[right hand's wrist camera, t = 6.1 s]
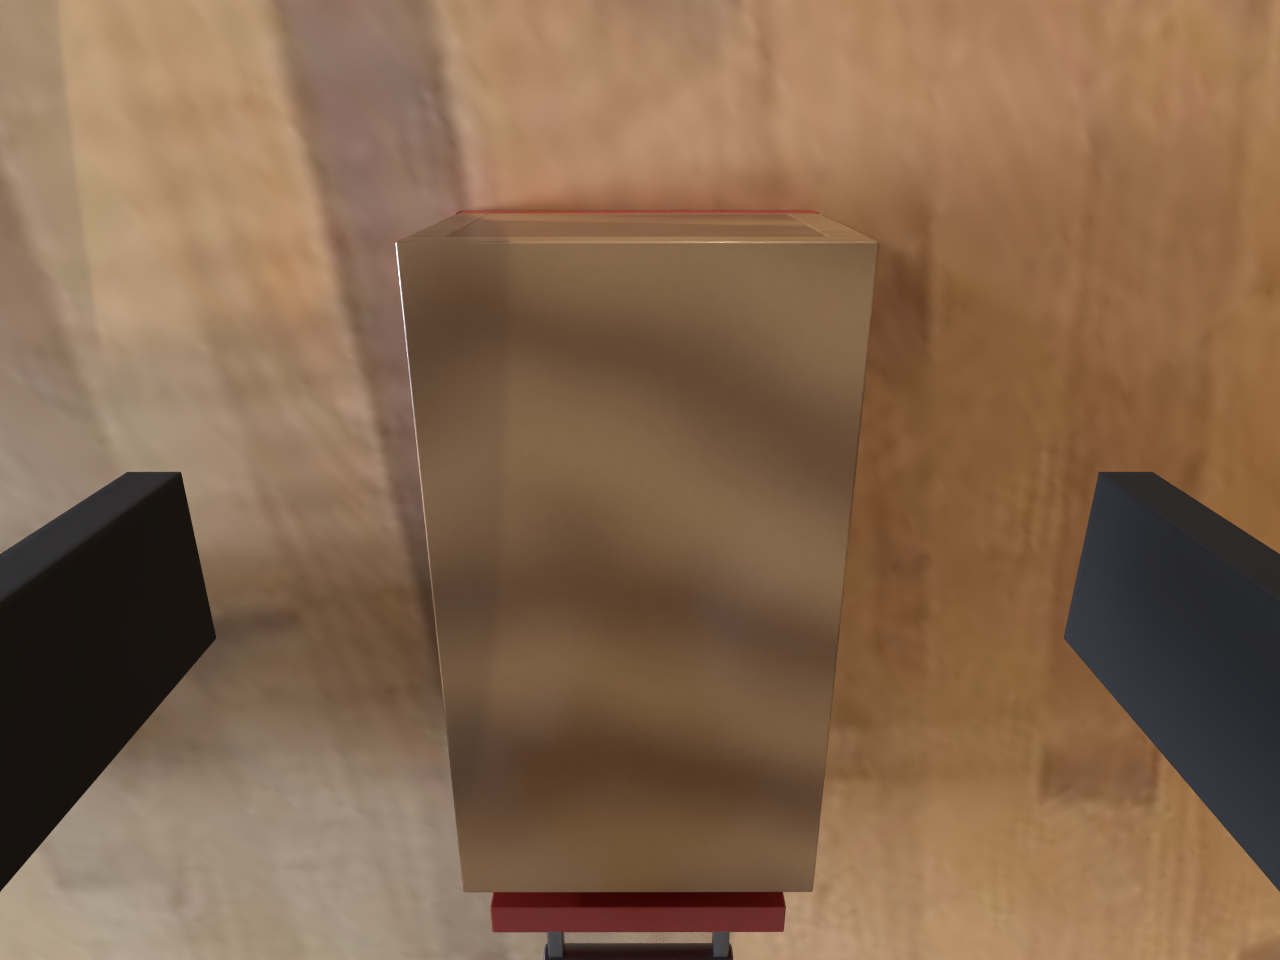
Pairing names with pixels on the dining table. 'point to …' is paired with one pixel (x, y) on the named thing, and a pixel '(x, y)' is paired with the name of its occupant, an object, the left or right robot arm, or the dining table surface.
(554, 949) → the drawer
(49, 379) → the dining table surface
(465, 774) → the cabinet
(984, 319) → the dining table surface
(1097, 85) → the dining table surface
